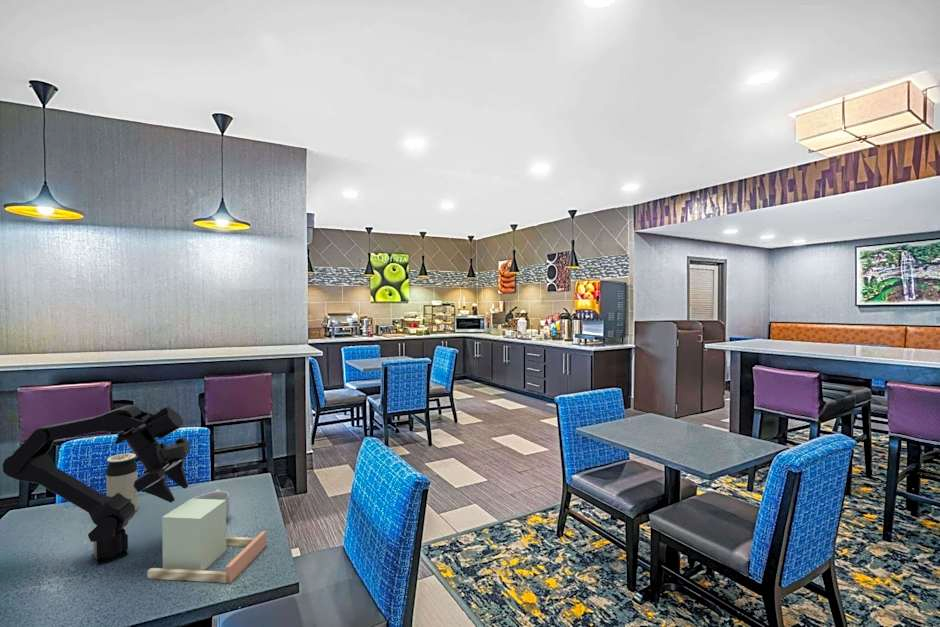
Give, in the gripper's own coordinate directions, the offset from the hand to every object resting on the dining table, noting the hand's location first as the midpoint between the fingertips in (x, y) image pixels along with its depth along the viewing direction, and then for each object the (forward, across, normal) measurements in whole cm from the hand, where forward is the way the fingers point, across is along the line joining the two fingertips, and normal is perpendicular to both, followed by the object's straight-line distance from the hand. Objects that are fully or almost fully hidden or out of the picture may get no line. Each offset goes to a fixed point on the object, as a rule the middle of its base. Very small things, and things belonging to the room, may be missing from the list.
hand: (179, 494), depth 128 cm
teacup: (+15, +16, +5) cm, 23 cm away
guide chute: (+18, -8, -1) cm, 20 cm away
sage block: (+16, -6, +3) cm, 18 cm away
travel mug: (0, +28, +31) cm, 42 cm away
